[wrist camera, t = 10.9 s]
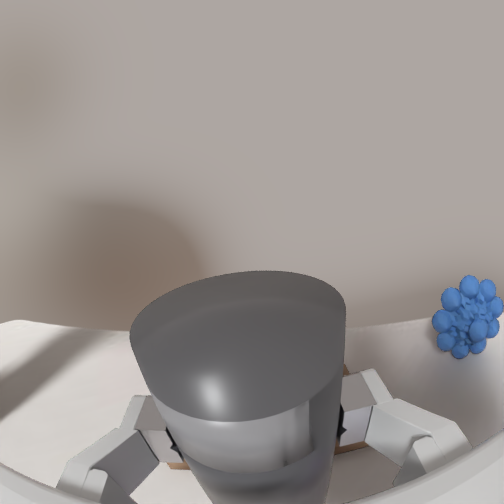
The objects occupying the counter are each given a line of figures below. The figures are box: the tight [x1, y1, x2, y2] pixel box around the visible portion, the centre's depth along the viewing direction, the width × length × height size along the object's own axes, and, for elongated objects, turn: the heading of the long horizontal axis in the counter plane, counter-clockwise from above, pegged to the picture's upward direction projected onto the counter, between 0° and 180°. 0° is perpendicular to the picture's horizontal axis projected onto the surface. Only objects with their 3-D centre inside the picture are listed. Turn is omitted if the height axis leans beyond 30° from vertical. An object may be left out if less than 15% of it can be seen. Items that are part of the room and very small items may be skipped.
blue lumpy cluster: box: [432, 275, 504, 359], centre depth 26 cm, size 12×7×12 cm, turn 77°
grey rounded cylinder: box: [130, 271, 346, 504], centre depth 8 cm, size 5×5×10 cm
